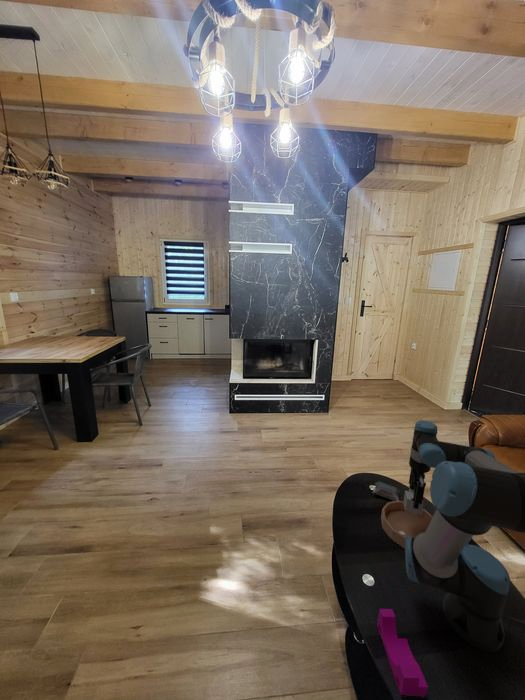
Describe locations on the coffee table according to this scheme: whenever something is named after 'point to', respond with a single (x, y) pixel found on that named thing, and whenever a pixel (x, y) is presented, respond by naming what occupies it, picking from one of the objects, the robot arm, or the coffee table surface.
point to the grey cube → (408, 502)
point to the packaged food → (386, 491)
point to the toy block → (400, 657)
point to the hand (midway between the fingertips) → (412, 508)
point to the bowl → (403, 522)
